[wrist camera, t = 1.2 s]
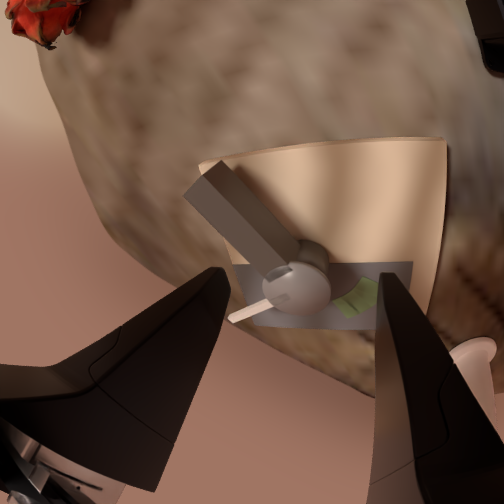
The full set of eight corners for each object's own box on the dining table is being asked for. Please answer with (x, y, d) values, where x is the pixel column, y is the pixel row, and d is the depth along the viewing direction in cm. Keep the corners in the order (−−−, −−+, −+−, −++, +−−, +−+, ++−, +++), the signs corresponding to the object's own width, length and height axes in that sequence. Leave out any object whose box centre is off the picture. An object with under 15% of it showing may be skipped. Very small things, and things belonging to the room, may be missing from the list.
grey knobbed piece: (346, 268, 19) (343, 302, 16) (261, 308, 24) (249, 336, 22) (238, 144, 16) (215, 160, 13) (167, 217, 21) (143, 240, 19)
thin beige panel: (441, 137, 12) (447, 141, 11) (421, 319, 21) (422, 329, 20) (204, 160, 19) (197, 166, 18) (258, 316, 27) (254, 325, 26)
